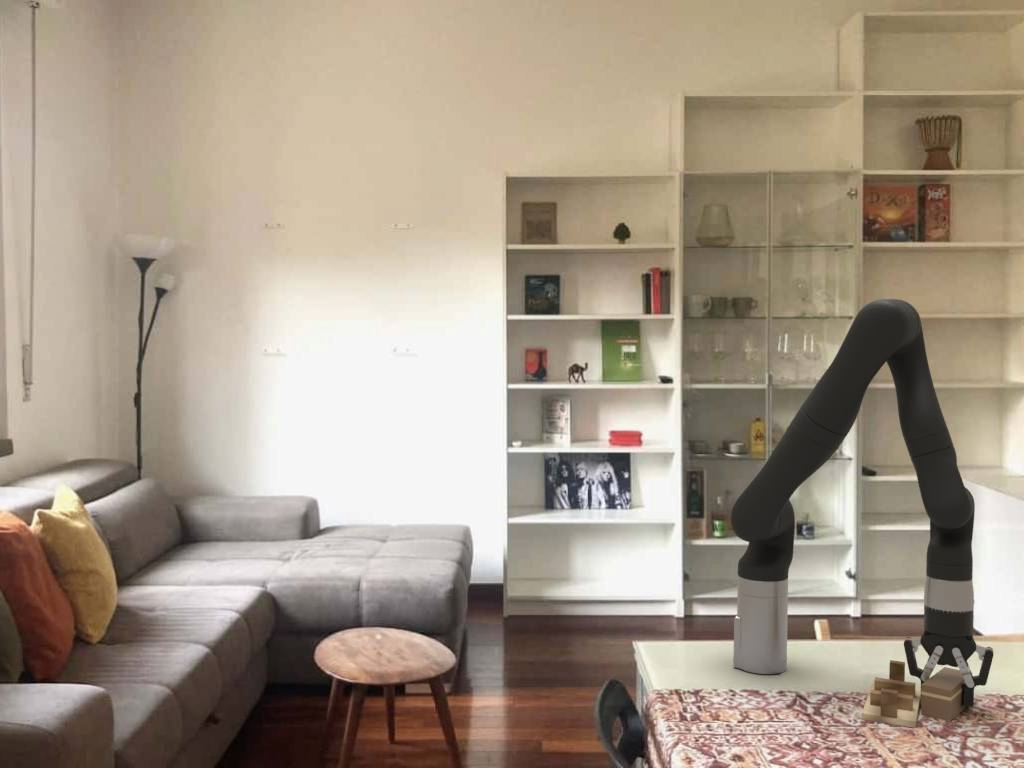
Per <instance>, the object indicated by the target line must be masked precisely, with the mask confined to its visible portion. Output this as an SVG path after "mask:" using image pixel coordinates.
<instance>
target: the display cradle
mask: <svg viewBox="0 0 1024 768" xmlns="http://www.w3.org/2000/svg"><path fill="white" fill-rule="evenodd" d="M888 670H889V671H888V672H889V676H888V677H889V678H882V677H875V678H874V680H872V683H871V685H870V688H869V691H868V694H867V697H866V700H865V702H864V703H865V704H864V707H863V708H862V712H861V720H865V721H869V722H876V723H883V724H890V725H894V726H895V725H896V726H902V727H907V728H913V729H914V728H915V729H916V726H917V720H918V716H919V712H920V711H919V710H920V707H921V686H917V685H916V682H912V681H911V682H910V681H905V680H906V679H905V677H906V675H905V673H906V662H905V661H900V660H889V669H888Z"/></svg>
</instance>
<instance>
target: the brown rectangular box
mask: <svg viewBox="0 0 1024 768" xmlns="http://www.w3.org/2000/svg"><path fill="white" fill-rule="evenodd" d="M965 684H966V682H965V680H964V678H963V675H962V674H961V671H960V669H956V668H952V667H951V668H950V667H946V666H944V667H943V668H941V669H940V670H939V671H937V672H936V673H935V674H933V675H932V676H930V677H929V679H928V680H927V681H925V682H924V683H923V684H922V689H921V700H920V715H921V716H925V717H929V718H933V719H937V720H938V719H939V720H941V721H947V722H951V721H953V719H954V718H956V716H958V715H959V714H960V713H961V712H962V711H963V710H965V709H964V694H965Z"/></svg>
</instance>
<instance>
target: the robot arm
mask: <svg viewBox="0 0 1024 768" xmlns="http://www.w3.org/2000/svg"><path fill="white" fill-rule="evenodd" d="M920 317H921V316H920V313H919V312H918V311H917V309H916V308H915V306H913V305H912V304H911V303H909V302H908V301H905V300H903V299H896V298H887V299H886V298H881V299H876V300H873V301H870V302H869V303H867V304H865V305H864V306H863V307H862V308H861V309H860V310H859V311H858V312H857V314H856V316H855V317H854V320H853V321H852V324H851V325H850V327H849V330H848V331H847V333H846V335H845V337H844V339H843V341H842V344H841V345H840V347H839V349H838V351H837V353H836V354H835V357H834V359H833V360H832V362H831V363H830V365H829V366H828V368H827V369H826V371H825V372H824V373H823V375H821V377H820V378H819V380H818V381H817V382H816V384H815V386H814V387H813V389H812V391H810V393H809V394H808V396H807V398H806V399H805V400H804V402H803V403H802V405H801V406H800V408H799V409H798V411H797V412H796V414H795V415H794V417H793V419H792V420H791V422H790V423H789V425H788V427H787V428H786V430H785V432H784V433H783V435H782V436H781V438H780V440H779V441H778V443H777V444H776V446H775V447H774V449H773V451H772V452H771V454H770V456H769V457H768V458H767V460H766V462H765V464H764V465H763V466H762V468H761V469H760V470H759V472H758V473H757V474H756V476H755V477H754V478H753V480H751V482H749V484H748V485H747V486H746V488H745V489H744V490H743V491H742V492H741V494H740V495H739V496H738V498H737V499H736V500H735V502H734V504H733V505H732V507H731V508H732V509H731V512H730V524H731V527H732V530H733V533H734V534H735V535H736V536H737V538H739V539H740V540H741V541H744V542H748V546H747V548H746V550H745V552H744V554H743V555H742V556H741V557H740V558H739V560H738V563H737V598H736V599H737V602H736V603H737V604H736V615H735V616H734V619H733V668H736V669H739V670H742V671H745V672H747V673H753V674H761V675H775V674H782V673H784V672H786V671H787V666H788V615H789V614H788V608H789V605H788V604H789V603H788V602H789V598H788V597H789V571H790V567H791V565H792V562H793V557H794V548H795V547H794V543H795V527H796V523H795V522H796V520H795V510H794V506H793V504H792V502H791V500H790V499H791V497H792V496H793V495H794V493H795V492H796V490H797V489H799V487H800V486H801V485H802V484H803V483H804V482H805V481H807V480H808V479H809V478H810V477H812V475H813V474H815V473H816V472H818V470H819V469H820V468H821V467H822V466H824V465H825V464H826V463H827V462H828V461H829V460H830V459H831V457H832V456H833V455H834V454H835V453H836V452H837V450H838V449H839V448H840V446H841V444H842V443H843V442H844V440H845V439H846V437H847V436H848V434H849V433H850V431H851V429H852V428H853V426H854V424H855V422H856V420H857V418H858V415H859V413H860V410H861V406H862V403H863V400H864V397H865V394H866V391H867V390H868V387H869V386H870V383H871V382H872V380H873V379H874V378H875V376H876V375H877V374H878V373H879V371H880V370H881V369H882V367H883V366H884V365H885V363H886V364H887V366H888V368H889V370H890V373H891V377H892V380H893V383H894V387H895V393H896V402H897V412H898V418H899V419H898V420H899V426H900V429H901V434H902V437H903V440H904V442H905V446H906V449H907V452H908V455H909V457H910V460H911V464H912V465H913V468H914V470H915V473H916V478H917V483H918V487H919V492H920V496H921V499H922V504H923V507H924V509H925V513H926V515H927V516H928V518H929V542H928V545H927V548H926V567H925V568H926V570H925V571H926V573H925V574H926V575H925V583H924V590H923V591H924V593H923V594H924V595H923V599H924V600H923V602H924V603H923V605H924V606H923V611H924V612H923V633H922V634H921V637H920V638H918V637H917V638H912V637H910V636H906V637H905V638H904V641H903V647H904V653H905V657H906V662H907V667H908V672H909V675H910V676H911V677H916V678H918V679H919V680H920V687H921V689H922V684H923V683H924V682H925V681H927V680H928V679H929V678H931V675H932V673H933V671H934V669H935V668H936V666H950V667H951V668H952V667H953V668H959V669H958V670H960V671H961V674H962V675H963V678H964V680H965V682H966V684H965V694H964V709H963V710H968V711H969V710H970V707H973V706H974V703H975V688H976V687H978V686H983V687H984V686H986V685H987V682H988V679H989V675H990V670H991V667H992V663H993V660H994V659H993V658H994V649H993V648H992V647H991V646H986V647H984V646H981V645H979V644H977V643H976V641H975V639H974V613H975V612H974V611H975V609H974V606H975V599H974V598H975V593H974V592H975V589H974V585H973V583H974V582H973V566H974V565H973V563H974V562H973V547H972V545H973V535H974V534H973V533H974V525H975V508H976V507H975V505H976V503H975V499H974V496H973V494H972V493H971V491H970V490H969V489H968V488H967V487H966V486H965V484H964V481H963V478H962V475H961V472H960V470H959V467H958V458H957V457H958V456H957V452H956V449H955V446H954V443H953V440H952V437H951V433H950V431H949V428H948V425H947V423H946V420H945V416H944V414H943V412H942V409H941V406H940V403H939V399H938V396H937V393H936V390H935V385H934V382H933V378H932V374H931V369H930V365H929V360H928V357H927V352H926V350H927V349H926V344H925V338H924V331H923V327H922V321H921V318H920ZM919 646H922V648H923V650H925V652H926V653H927V655H928V658H927V660H926V663H925V665H924V667H923V669H922V668H920V667H918V662H917V657H916V653H917V652H918V650H919ZM975 652H976V653H977V655H978V659H979V660H980V661H982V662H981V664H980V669H979V673H978V675H973V672H972V670H971V667H970V665H969V663H968V660H969V659H970V658H971V656H973V654H974V653H975Z"/></svg>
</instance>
